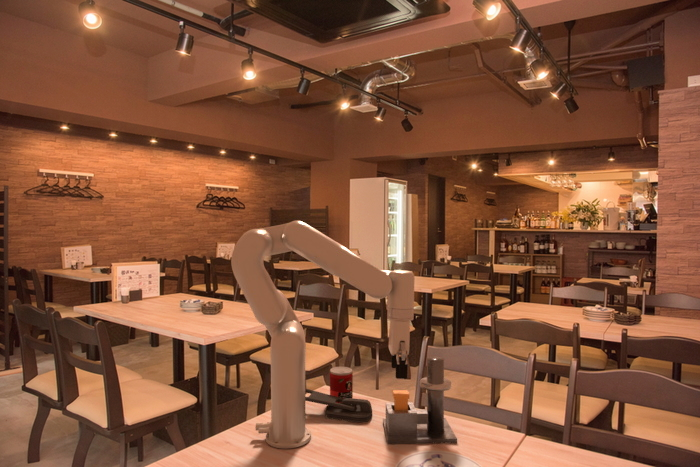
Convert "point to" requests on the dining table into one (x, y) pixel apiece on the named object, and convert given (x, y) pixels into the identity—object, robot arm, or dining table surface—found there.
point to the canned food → (341, 382)
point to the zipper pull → (342, 407)
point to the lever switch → (422, 413)
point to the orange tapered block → (400, 399)
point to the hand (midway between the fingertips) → (399, 372)
